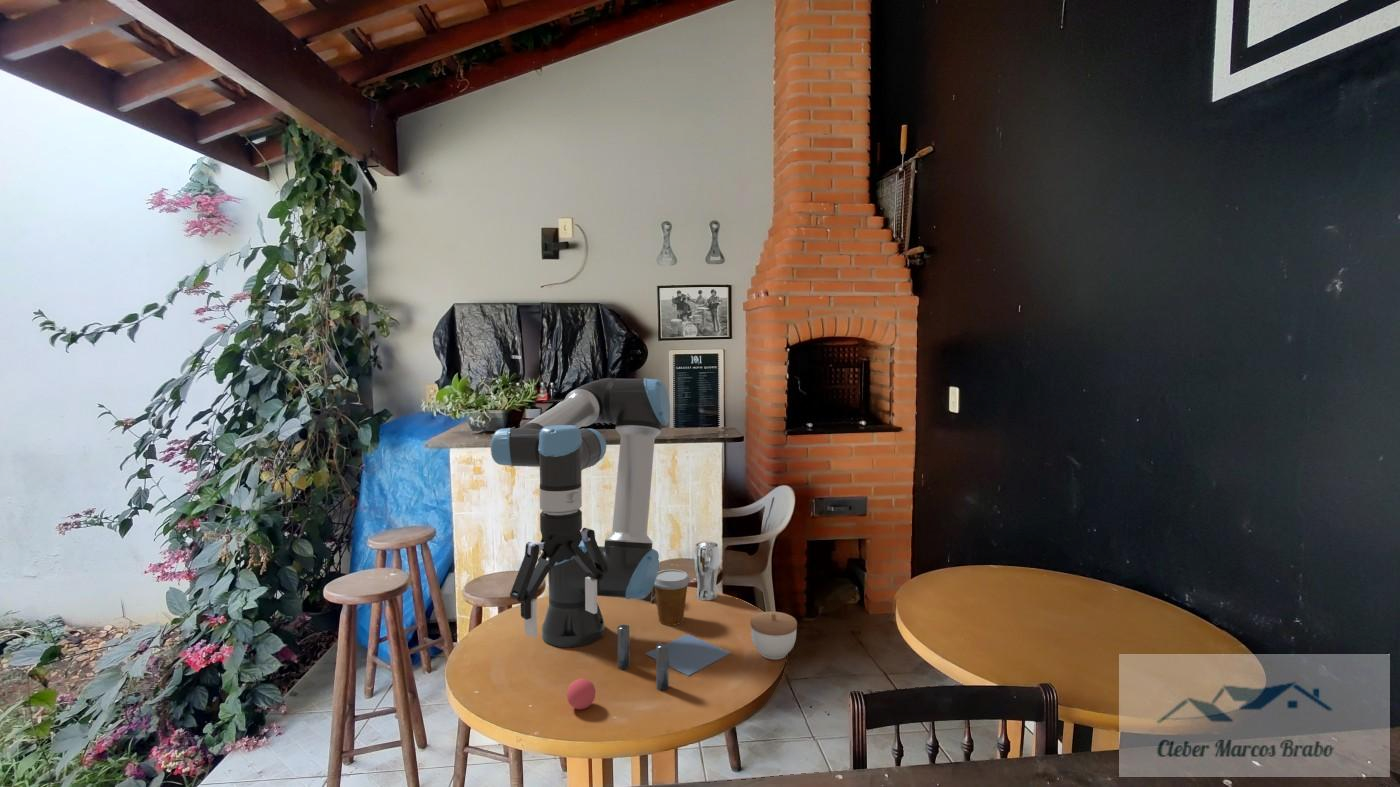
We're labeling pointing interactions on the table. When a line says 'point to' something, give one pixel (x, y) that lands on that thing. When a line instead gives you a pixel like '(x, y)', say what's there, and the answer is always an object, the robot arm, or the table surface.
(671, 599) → the disposable coffee cup
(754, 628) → the lidded jar
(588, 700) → the ball
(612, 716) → the table surface
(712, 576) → the beer glass
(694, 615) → the table surface
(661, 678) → the post
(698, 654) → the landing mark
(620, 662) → the post
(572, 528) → the robot arm
